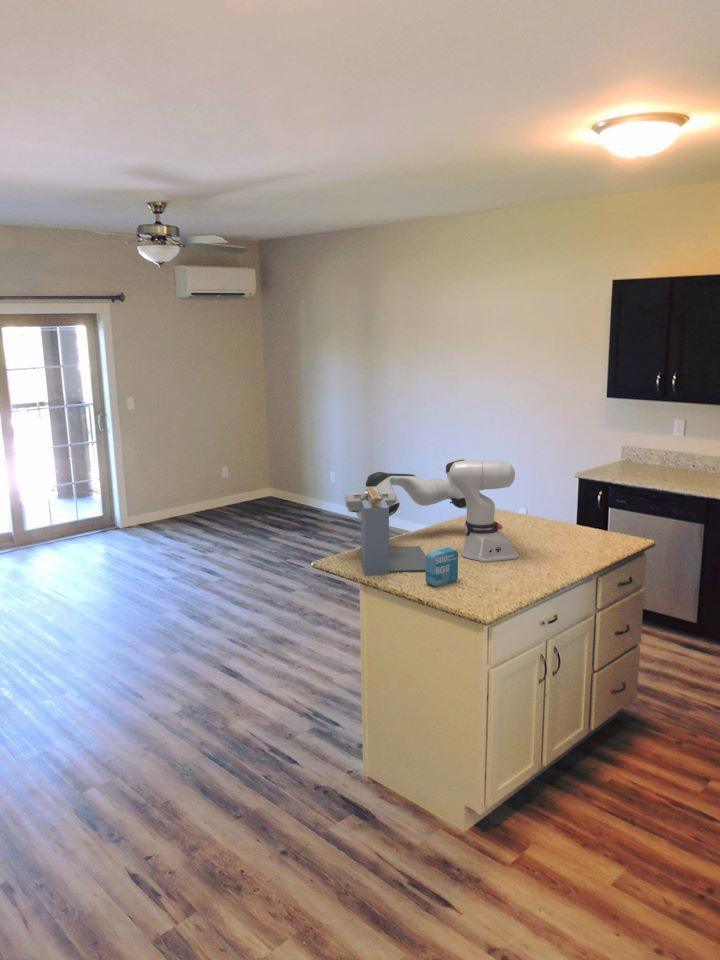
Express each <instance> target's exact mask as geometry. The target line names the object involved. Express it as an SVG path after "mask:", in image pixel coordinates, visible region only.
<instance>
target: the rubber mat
mask: <svg viewBox="0 0 720 960" xmlns="http://www.w3.org/2000/svg"><path fill="white" fill-rule="evenodd" d="M398 572H399V573H398ZM403 572H411V573H426V554H425V553H424V551H423V549H422V547H421V545H406V546H405V545H403V546H389V574H397V573H398V574H404V573H403Z"/></svg>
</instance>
